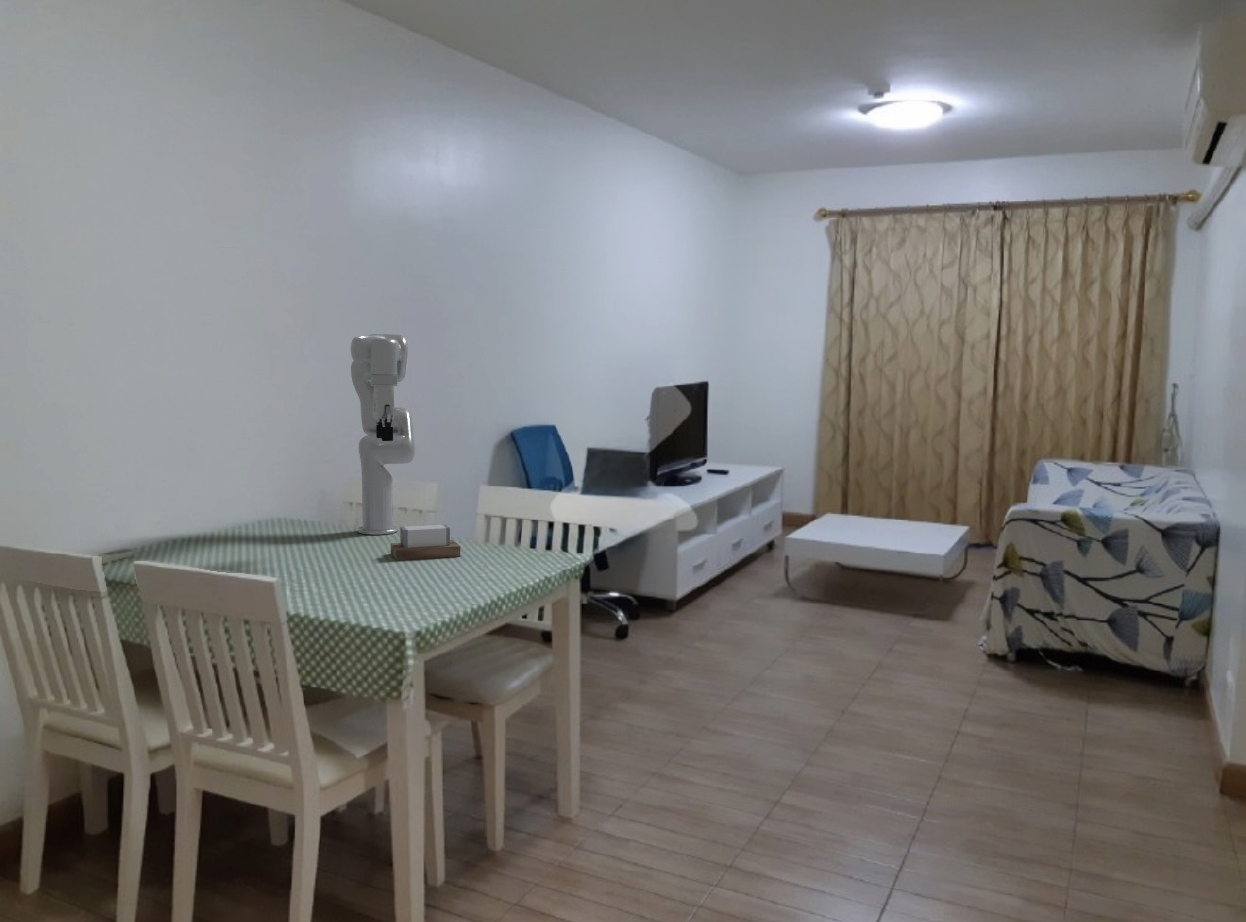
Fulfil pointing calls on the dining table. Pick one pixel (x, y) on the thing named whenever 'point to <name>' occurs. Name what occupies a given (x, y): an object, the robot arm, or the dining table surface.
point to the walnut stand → (424, 551)
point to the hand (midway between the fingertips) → (384, 439)
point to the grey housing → (425, 536)
